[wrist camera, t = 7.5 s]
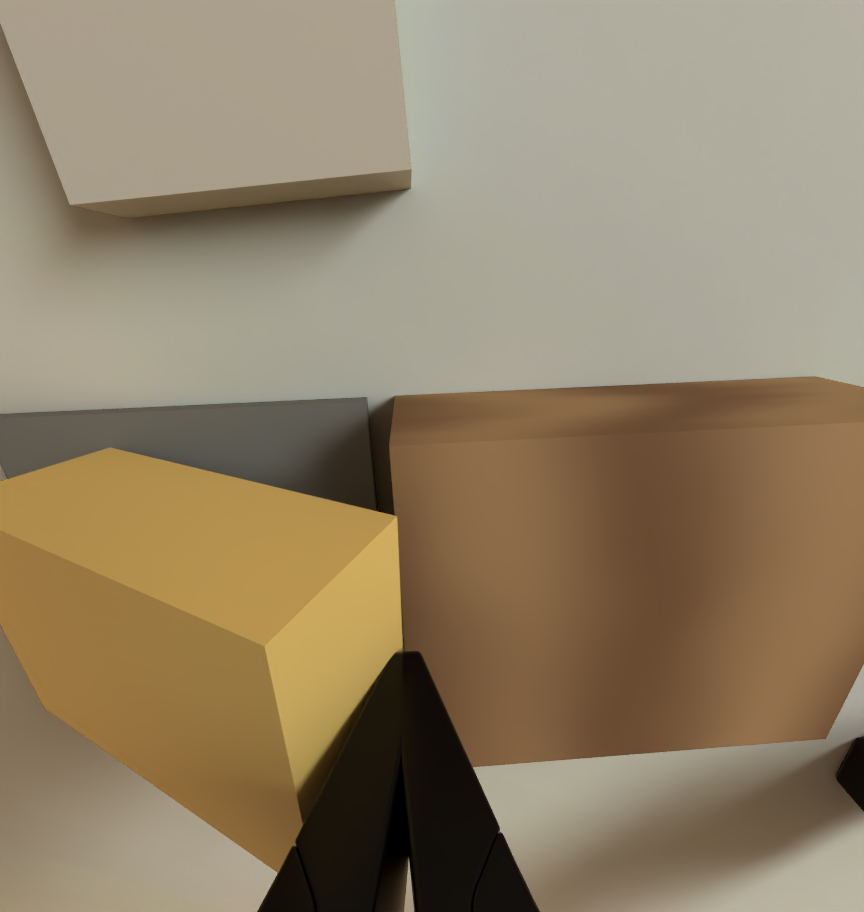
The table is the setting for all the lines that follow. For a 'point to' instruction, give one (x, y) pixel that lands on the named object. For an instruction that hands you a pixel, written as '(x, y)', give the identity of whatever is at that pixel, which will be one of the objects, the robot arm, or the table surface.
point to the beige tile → (213, 99)
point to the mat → (215, 442)
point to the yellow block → (201, 628)
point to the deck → (633, 563)
